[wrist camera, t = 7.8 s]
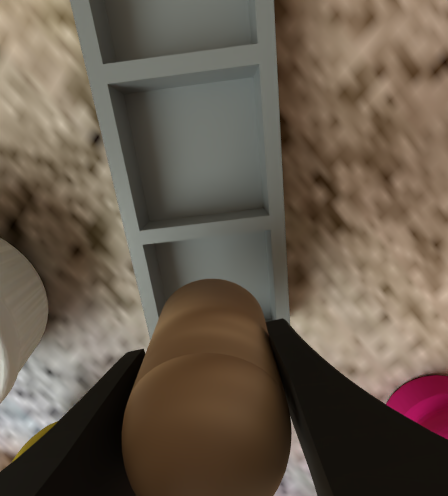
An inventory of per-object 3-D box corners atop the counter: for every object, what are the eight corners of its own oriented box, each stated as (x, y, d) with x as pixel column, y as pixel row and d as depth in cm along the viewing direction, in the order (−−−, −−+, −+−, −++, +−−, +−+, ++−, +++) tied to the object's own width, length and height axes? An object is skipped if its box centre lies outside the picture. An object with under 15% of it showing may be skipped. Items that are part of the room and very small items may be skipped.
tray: (253, -131, 11) (262, -217, 9) (280, 320, 18) (291, 348, 16) (71, -104, 12) (27, -180, 9) (165, 332, 18) (155, 362, 16)
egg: (252, 267, 11) (295, 416, 5) (273, 357, 12) (328, 568, 6) (145, 292, 11) (50, 464, 5) (177, 378, 13) (134, 598, 6)
